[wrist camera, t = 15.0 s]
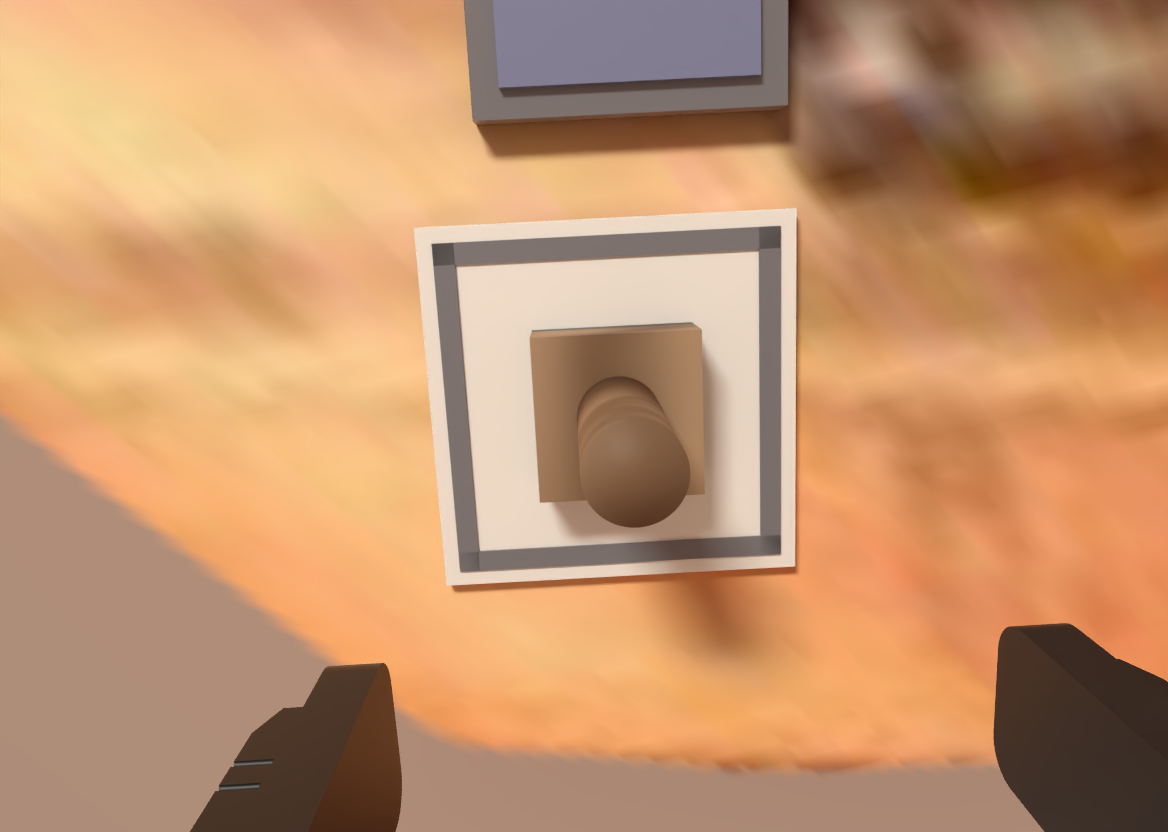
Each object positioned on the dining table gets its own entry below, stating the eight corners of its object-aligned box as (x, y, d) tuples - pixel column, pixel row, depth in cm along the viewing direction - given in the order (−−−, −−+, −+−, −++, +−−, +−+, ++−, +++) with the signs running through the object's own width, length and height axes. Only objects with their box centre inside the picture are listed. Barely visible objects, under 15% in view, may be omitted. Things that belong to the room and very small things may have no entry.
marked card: (793, 208, 31) (797, 207, 31) (791, 561, 34) (795, 567, 34) (416, 228, 31) (413, 227, 31) (448, 580, 34) (446, 586, 34)
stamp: (691, 322, 32) (744, 360, 22) (694, 475, 33) (746, 572, 24) (532, 330, 32) (518, 372, 22) (541, 483, 33) (531, 584, 24)
